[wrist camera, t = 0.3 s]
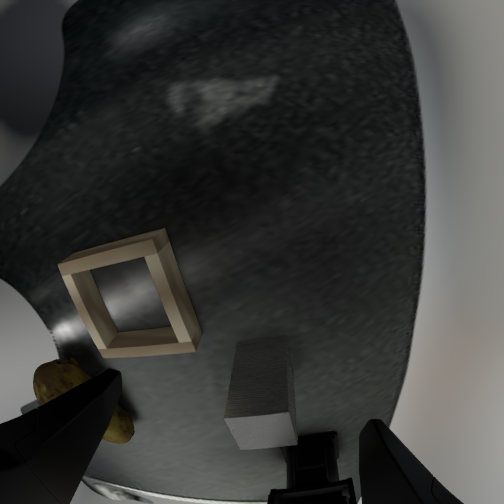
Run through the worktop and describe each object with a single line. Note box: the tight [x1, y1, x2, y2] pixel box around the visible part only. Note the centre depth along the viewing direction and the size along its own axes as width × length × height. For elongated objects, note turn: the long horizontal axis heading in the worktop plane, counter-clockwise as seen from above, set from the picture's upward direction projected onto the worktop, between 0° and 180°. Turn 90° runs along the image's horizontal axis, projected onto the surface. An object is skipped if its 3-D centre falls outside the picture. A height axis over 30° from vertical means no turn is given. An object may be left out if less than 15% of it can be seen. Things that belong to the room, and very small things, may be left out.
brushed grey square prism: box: [224, 335, 298, 450], centre depth 20 cm, size 4×4×8 cm
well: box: [58, 228, 202, 358], centre depth 22 cm, size 9×9×2 cm
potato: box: [33, 357, 135, 444], centre depth 24 cm, size 8×13×8 cm, turn 179°
